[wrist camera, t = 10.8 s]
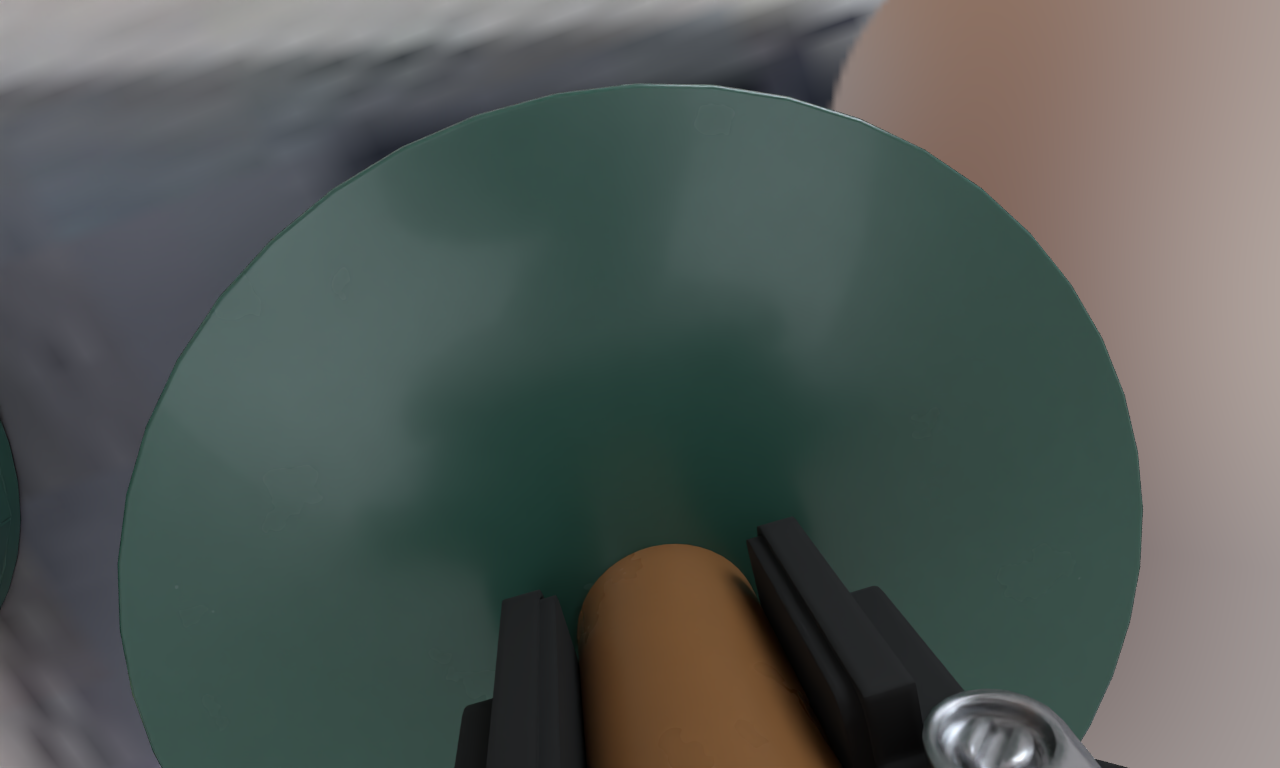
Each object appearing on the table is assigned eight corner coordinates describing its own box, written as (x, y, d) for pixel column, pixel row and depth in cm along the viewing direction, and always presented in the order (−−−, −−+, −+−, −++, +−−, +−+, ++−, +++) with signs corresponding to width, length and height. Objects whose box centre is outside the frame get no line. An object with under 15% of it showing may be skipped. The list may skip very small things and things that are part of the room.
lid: (717, -166, 10) (953, -629, 4) (1242, 586, 15) (1729, 869, 9) (-75, 587, 12) (-725, 1021, 6) (619, 1077, 16) (665, 1622, 10)
